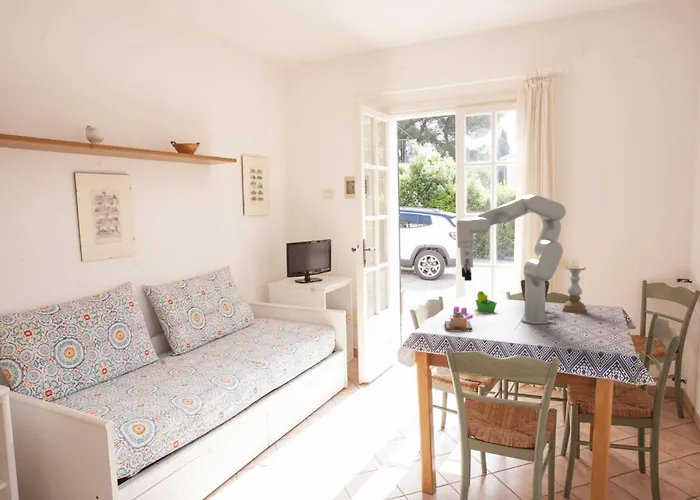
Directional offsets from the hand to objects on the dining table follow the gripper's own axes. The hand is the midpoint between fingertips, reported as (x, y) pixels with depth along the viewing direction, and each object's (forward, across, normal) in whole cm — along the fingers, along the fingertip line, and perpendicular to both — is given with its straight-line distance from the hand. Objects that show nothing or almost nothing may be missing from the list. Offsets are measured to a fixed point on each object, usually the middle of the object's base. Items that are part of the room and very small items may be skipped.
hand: (466, 278), depth 241 cm
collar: (+21, -6, +6) cm, 23 cm away
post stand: (+23, -6, +6) cm, 24 cm away
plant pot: (+25, +31, -40) cm, 57 cm away
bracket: (+24, +13, 0) cm, 27 cm away
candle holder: (+26, +30, -61) cm, 73 cm away
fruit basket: (+24, +30, -13) cm, 40 cm away
